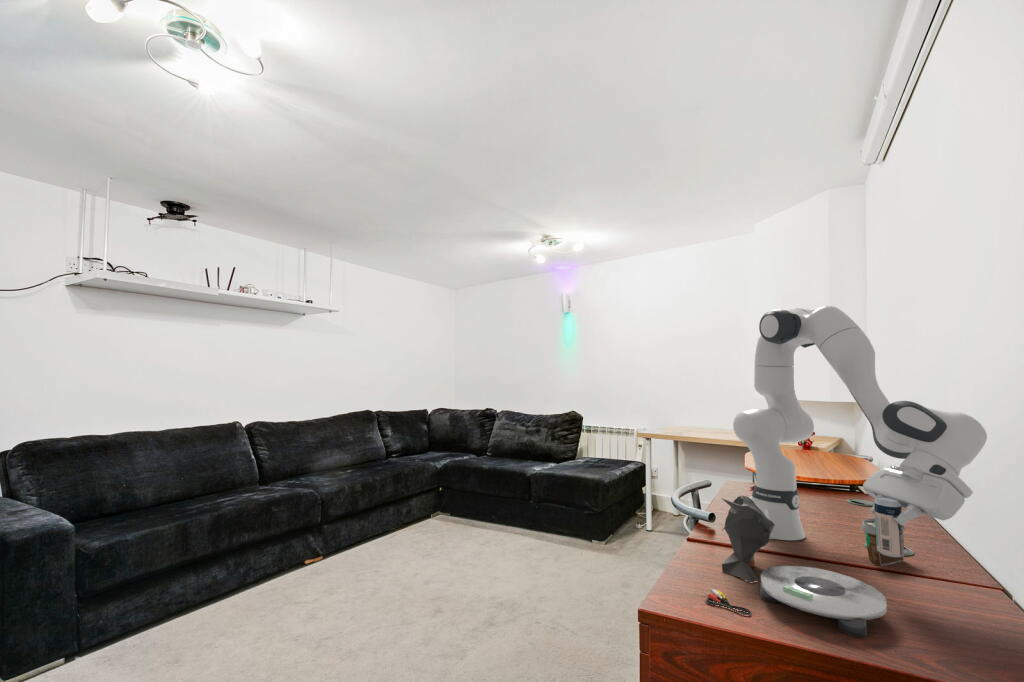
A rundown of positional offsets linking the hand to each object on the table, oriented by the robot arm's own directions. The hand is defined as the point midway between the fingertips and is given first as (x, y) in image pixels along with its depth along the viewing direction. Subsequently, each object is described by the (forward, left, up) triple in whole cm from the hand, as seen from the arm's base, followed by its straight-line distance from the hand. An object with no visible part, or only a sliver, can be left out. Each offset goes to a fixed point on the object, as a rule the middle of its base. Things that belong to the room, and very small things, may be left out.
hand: (885, 518), depth 104 cm
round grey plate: (-5, -19, -17) cm, 26 cm away
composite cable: (-16, -35, -18) cm, 42 cm away
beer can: (0, +1, -8) cm, 8 cm away
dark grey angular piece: (-26, -12, -17) cm, 34 cm away
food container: (-11, +24, -17) cm, 32 cm away
